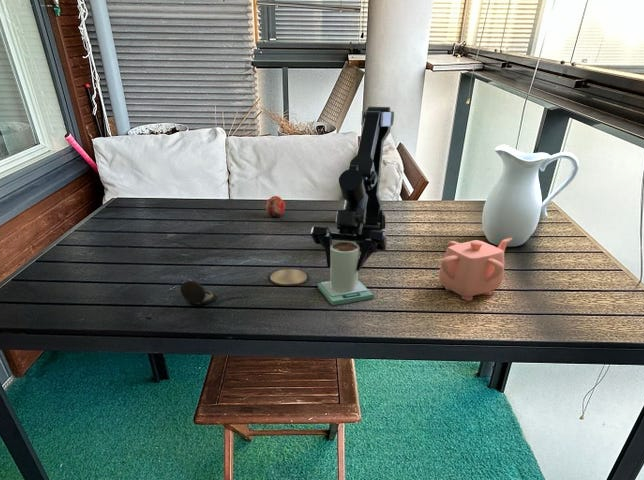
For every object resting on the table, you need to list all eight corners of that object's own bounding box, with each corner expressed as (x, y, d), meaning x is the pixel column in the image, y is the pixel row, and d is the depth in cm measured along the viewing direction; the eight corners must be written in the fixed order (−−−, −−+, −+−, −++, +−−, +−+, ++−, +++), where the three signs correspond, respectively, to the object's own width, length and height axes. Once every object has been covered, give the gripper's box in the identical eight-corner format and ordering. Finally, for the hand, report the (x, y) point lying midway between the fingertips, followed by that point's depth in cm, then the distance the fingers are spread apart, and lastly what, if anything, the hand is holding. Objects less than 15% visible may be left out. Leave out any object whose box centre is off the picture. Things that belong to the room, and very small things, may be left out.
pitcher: (474, 246, 152) (491, 151, 137) (481, 229, 165) (497, 141, 150) (556, 256, 145) (584, 157, 129) (556, 238, 158) (582, 146, 142)
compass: (218, 295, 124) (214, 269, 120) (205, 309, 118) (201, 282, 114) (189, 292, 126) (185, 266, 122) (175, 306, 119) (170, 279, 115)
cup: (351, 278, 129) (352, 240, 123) (362, 289, 123) (364, 249, 117) (325, 282, 127) (326, 243, 121) (335, 294, 121) (336, 253, 115)
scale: (356, 281, 131) (356, 276, 130) (373, 298, 122) (373, 292, 121) (317, 287, 128) (317, 282, 127) (332, 305, 119) (332, 299, 118)
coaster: (300, 268, 138) (300, 267, 138) (311, 282, 130) (311, 280, 130) (266, 273, 136) (266, 272, 135) (275, 288, 128) (275, 286, 127)
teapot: (435, 300, 121) (442, 249, 114) (439, 275, 134) (446, 228, 127) (505, 307, 118) (517, 256, 110) (502, 281, 130) (513, 233, 123)
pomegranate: (271, 218, 184) (256, 207, 176) (279, 200, 184) (265, 188, 175) (285, 224, 181) (271, 213, 172) (294, 206, 180) (280, 194, 172)
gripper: (312, 192, 118) (299, 251, 115) (388, 197, 114) (377, 259, 111) (321, 215, 129) (309, 270, 126) (391, 220, 124) (380, 277, 122)
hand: (342, 269), depth 121 cm, fingers closed on cup, 7 cm apart
